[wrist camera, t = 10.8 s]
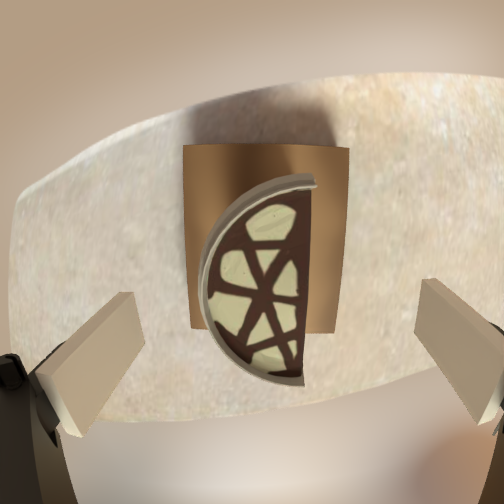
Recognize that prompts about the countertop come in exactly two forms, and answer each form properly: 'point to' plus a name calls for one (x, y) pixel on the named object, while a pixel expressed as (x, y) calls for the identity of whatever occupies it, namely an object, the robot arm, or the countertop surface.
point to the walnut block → (249, 176)
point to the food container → (261, 279)
